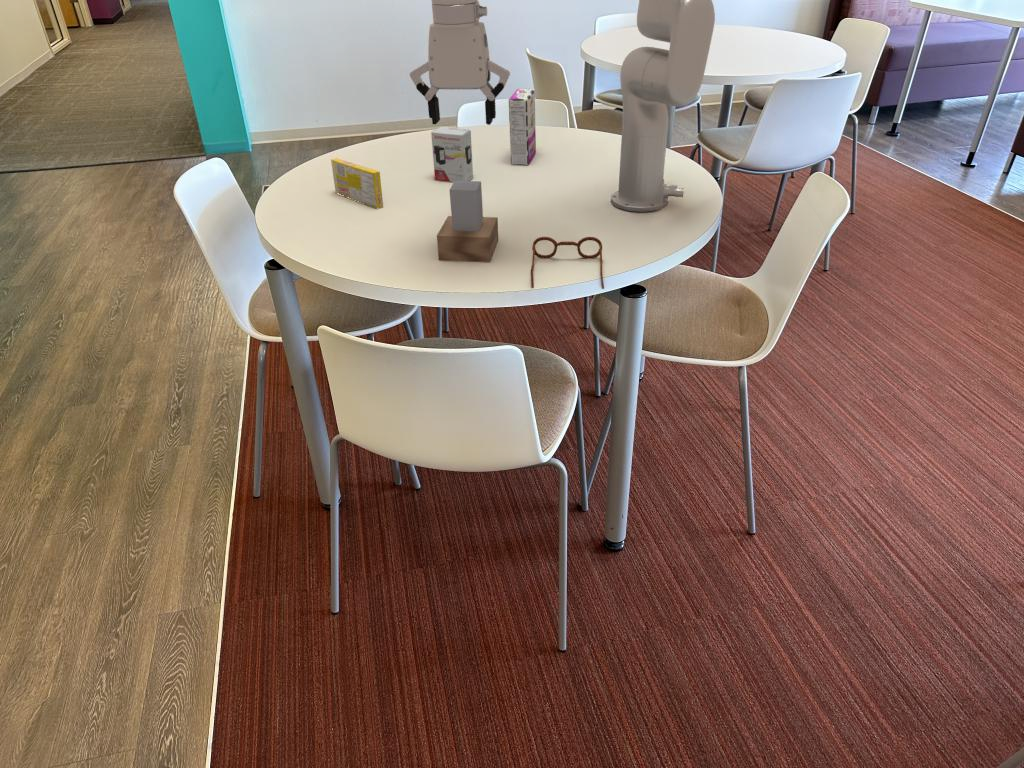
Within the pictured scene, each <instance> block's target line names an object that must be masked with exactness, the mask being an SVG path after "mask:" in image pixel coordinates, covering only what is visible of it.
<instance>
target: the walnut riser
mask: <svg viewBox="0 0 1024 768" xmlns="http://www.w3.org/2000/svg"><path fill="white" fill-rule="evenodd" d="M498 219H499V218H498V217H497V216H495V217H492V216H483V223H482V225H481V228H480V230H479V232H472V231H453V229H452V216H451V215H447V217H446V219H445V220H444V223H443V224H442V226H441V227H440V229H439V231H438V232H437V234H436V242H437V243H436V244H437V255H438V261H444V262H445V261H446V262H447V261H449V262H471V263H472V262H473V263H491V261H492V260H493V257H494V254H495V251H496V249H497V246H498V244H499V240H500V239H499V223H498V222H499V220H498Z"/></svg>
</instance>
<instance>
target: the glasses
mask: <svg viewBox="0 0 1024 768" xmlns="http://www.w3.org/2000/svg"><path fill="white" fill-rule="evenodd" d="M542 241H548V242H551V243H552V244H553V251H552V252H551V253H549V254H540V253H539V252H538V251H537V250H536V245H537V243H539V242H542ZM587 241H592V242H595V243H597V244H598V247H599V248H598V250H597V252H596V253H594V254H589V255H588V254H585V253H583V252H582V251H581V245H582V244H583V243H585V242H587ZM560 246H575V247H577V248H576V249H577V253H578V255H579V256H580V257H581V258H583V259H596V258H598V257H599V267H600V268H599V269H600V270H599V274H600V275H599V276H600V282H601V283H600V284H601V289H605V284H604V278H603V277H604V276H603V242H601V240H600V239H599V238H597V237H596V236H595V237H594V236H587V237H586V236H585V237H583V238H581V239H580V240H579V241H578V242H576V241H559V242H557V241H556V240H555V239H554V238H552V237H550V236H540V237H536V239H535V240H533V243H532V246H531V247H532V260H531V261H532V262H531V266H530V267H531V268H530V286H531V287H530V288H531V289H534V287H535V286H534V284H535V283H534V281H535V280H534V268H535V261H536V260H535V259H536V258H535V257H537V258H539V259H550V258H553V257H554V256H555V255H556V253H557V252H558V251H557V250H558V247H560Z"/></svg>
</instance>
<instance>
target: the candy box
mask: <svg viewBox="0 0 1024 768" xmlns="http://www.w3.org/2000/svg"><path fill="white" fill-rule="evenodd" d="M330 161H331V162H330V163H331V171H332V176H333V177H332V178H333V183H334V190H335V194H336V193H339V194H341V195H344V196H346V197H349V198H351V199H353V200H352V201H354V200H356V201H355V202H357V201H359V202H361V204H362V203H364V204H363V205H365V204H367V205H366V206H368V205H369V206H368V207H370V208H373V207H374V209H376V208H380V209H382V208H384V202H383V191H382V183H381V173H380V171H378V170H376V169H373V168H369V167H366V166H362V165H359V164H356V163H352V162H349V161H346V160H343V159H340V158H338V157H337V158H333V159H330ZM346 197H345V198H346ZM351 199H350V200H351ZM359 202H358V203H359ZM381 207H382V208H381Z"/></svg>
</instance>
